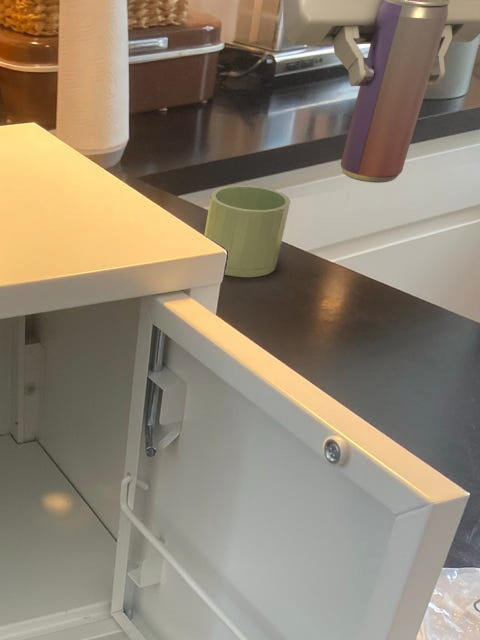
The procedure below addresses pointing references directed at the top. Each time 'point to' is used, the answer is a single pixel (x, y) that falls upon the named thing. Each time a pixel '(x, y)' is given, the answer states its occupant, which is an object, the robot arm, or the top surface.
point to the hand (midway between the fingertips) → (398, 81)
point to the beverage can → (393, 88)
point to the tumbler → (248, 227)
